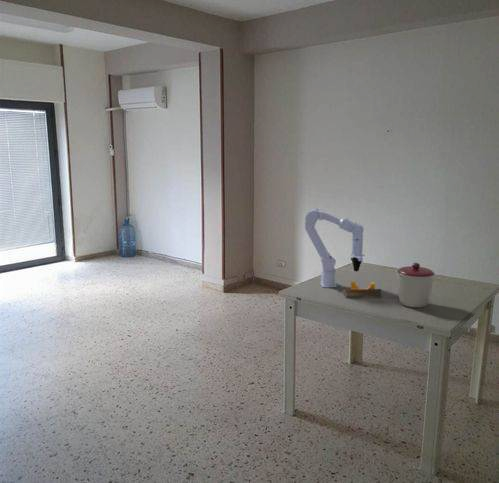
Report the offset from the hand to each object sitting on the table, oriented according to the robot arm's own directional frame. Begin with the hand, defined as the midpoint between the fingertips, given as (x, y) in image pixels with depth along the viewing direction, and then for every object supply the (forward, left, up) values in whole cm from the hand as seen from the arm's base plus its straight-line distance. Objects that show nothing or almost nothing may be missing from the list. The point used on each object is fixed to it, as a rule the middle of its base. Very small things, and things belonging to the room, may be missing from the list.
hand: (356, 270), depth 264 cm
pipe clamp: (+12, 0, -10) cm, 16 cm away
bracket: (+14, -1, -9) cm, 17 cm away
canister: (+31, +20, -10) cm, 38 cm away
